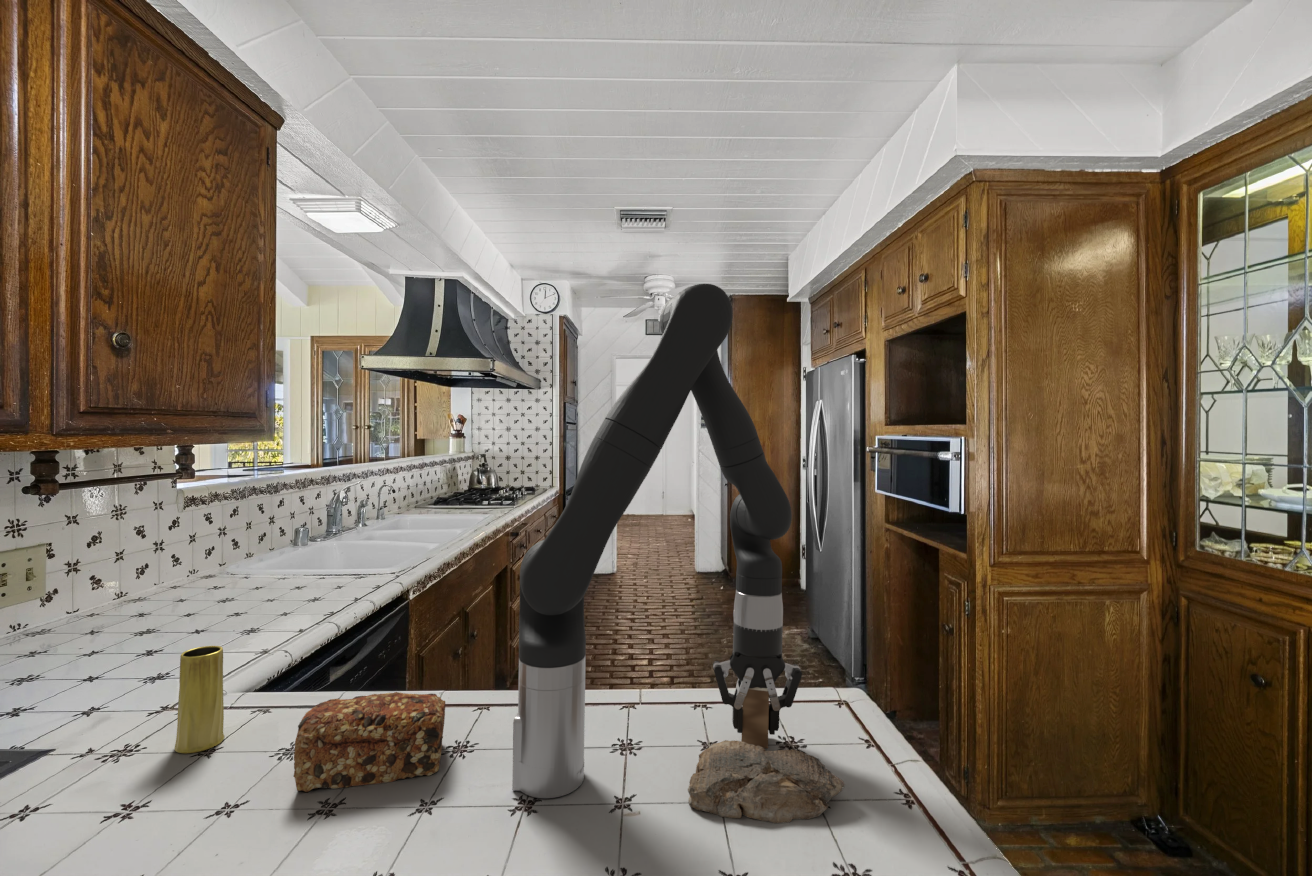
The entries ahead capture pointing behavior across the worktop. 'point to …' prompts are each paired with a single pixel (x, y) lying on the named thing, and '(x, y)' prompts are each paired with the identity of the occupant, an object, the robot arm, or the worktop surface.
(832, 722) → the worktop surface
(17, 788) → the worktop surface
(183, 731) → the vase
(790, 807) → the clay tablet
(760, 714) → the walnut block
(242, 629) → the worktop surface
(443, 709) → the bread
